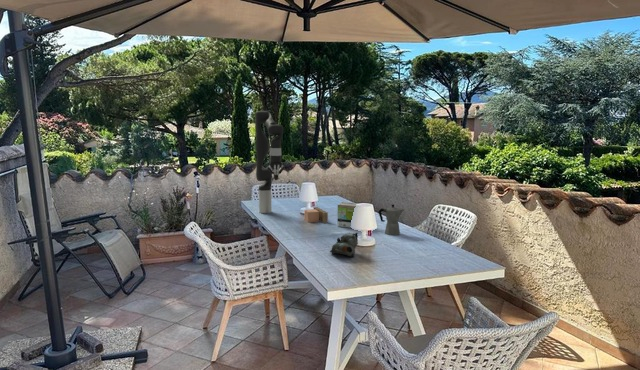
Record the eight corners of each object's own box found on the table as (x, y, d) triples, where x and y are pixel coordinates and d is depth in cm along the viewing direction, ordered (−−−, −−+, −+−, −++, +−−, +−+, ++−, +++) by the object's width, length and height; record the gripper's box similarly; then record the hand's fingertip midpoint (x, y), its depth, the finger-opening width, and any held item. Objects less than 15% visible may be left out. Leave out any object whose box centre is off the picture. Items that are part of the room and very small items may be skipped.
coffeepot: (401, 231, 266) (402, 202, 264) (404, 235, 257) (405, 205, 254) (376, 231, 266) (377, 203, 263) (379, 235, 256) (379, 206, 254)
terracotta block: (304, 219, 298) (304, 210, 297) (315, 219, 301) (315, 209, 300) (308, 222, 291) (307, 212, 290) (319, 221, 294) (319, 211, 293)
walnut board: (313, 216, 307) (313, 207, 306) (317, 216, 308) (317, 207, 307) (323, 223, 289) (323, 212, 288) (327, 222, 290) (327, 212, 289)
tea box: (337, 226, 278) (337, 204, 276) (342, 223, 288) (342, 201, 286) (359, 228, 273) (359, 206, 271) (363, 225, 282) (363, 203, 280)
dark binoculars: (327, 252, 225) (336, 227, 228) (348, 260, 226) (356, 235, 229) (333, 252, 210) (343, 225, 213) (356, 260, 212) (365, 234, 215)
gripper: (283, 153, 294) (283, 178, 297) (264, 154, 289) (265, 179, 292) (286, 154, 287) (287, 180, 290) (267, 155, 282) (267, 181, 285)
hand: (276, 180), depth 291 cm, fingers closed
